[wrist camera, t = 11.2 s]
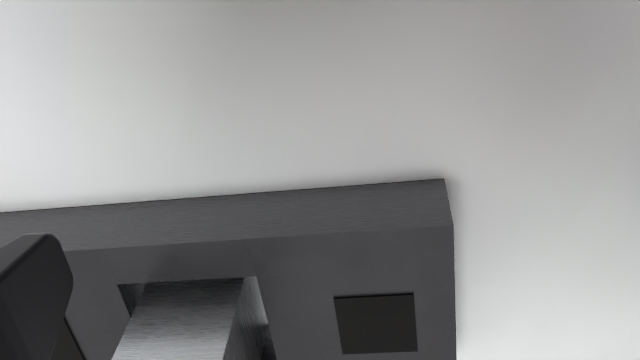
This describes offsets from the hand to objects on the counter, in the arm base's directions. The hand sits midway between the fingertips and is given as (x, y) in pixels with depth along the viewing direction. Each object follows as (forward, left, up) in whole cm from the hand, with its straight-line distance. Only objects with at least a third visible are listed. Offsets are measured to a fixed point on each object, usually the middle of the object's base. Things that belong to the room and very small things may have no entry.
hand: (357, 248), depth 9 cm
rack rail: (+7, +12, -13) cm, 19 cm away
